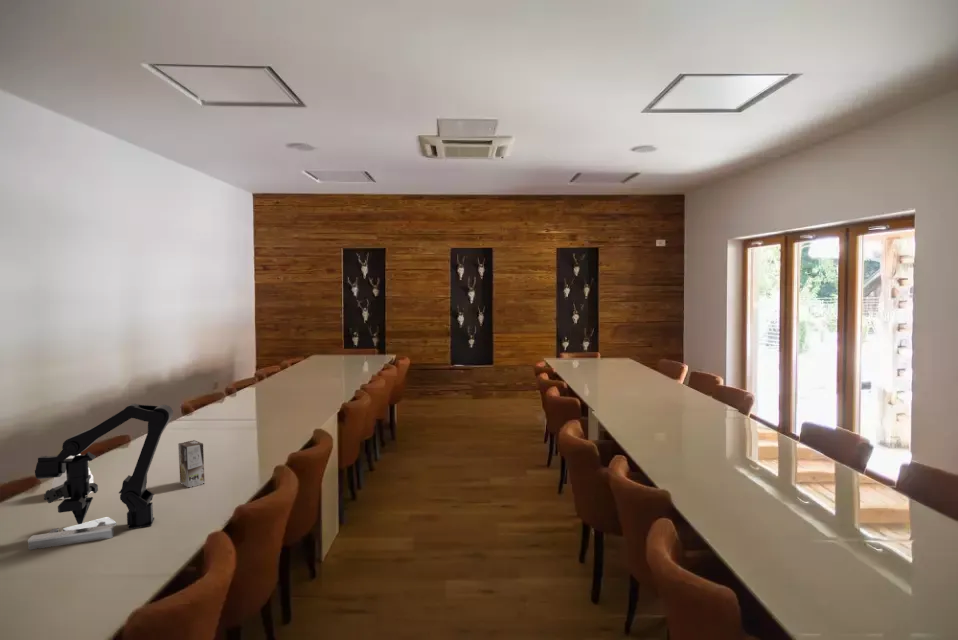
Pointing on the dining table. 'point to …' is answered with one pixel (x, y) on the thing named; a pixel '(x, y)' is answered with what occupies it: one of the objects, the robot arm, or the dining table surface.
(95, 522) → the external hard drive
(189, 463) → the coffee box
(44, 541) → the grey door handle
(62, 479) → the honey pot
